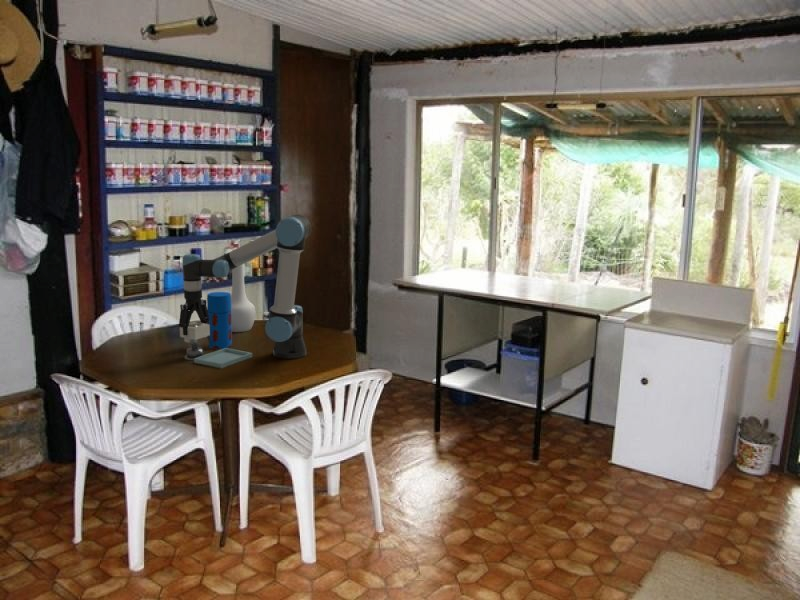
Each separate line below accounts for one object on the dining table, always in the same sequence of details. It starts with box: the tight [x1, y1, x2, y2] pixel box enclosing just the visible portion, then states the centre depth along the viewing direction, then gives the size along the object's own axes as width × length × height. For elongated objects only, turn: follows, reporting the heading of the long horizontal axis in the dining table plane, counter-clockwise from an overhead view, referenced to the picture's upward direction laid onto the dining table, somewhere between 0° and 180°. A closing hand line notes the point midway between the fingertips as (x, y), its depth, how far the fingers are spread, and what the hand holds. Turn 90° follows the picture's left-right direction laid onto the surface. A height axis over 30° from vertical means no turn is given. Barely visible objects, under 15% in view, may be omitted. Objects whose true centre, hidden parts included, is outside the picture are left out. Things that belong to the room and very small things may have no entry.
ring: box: [179, 321, 210, 340], centre depth 315 cm, size 11×9×5 cm
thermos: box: [206, 291, 233, 350], centre depth 334 cm, size 11×11×25 cm
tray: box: [193, 347, 253, 369], centre depth 314 cm, size 15×20×2 cm
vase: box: [230, 264, 256, 333], centre depth 364 cm, size 17×17×35 cm
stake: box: [184, 324, 205, 362], centre depth 315 cm, size 9×9×15 cm
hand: (195, 339), depth 315 cm, fingers closed on ring, 9 cm apart
